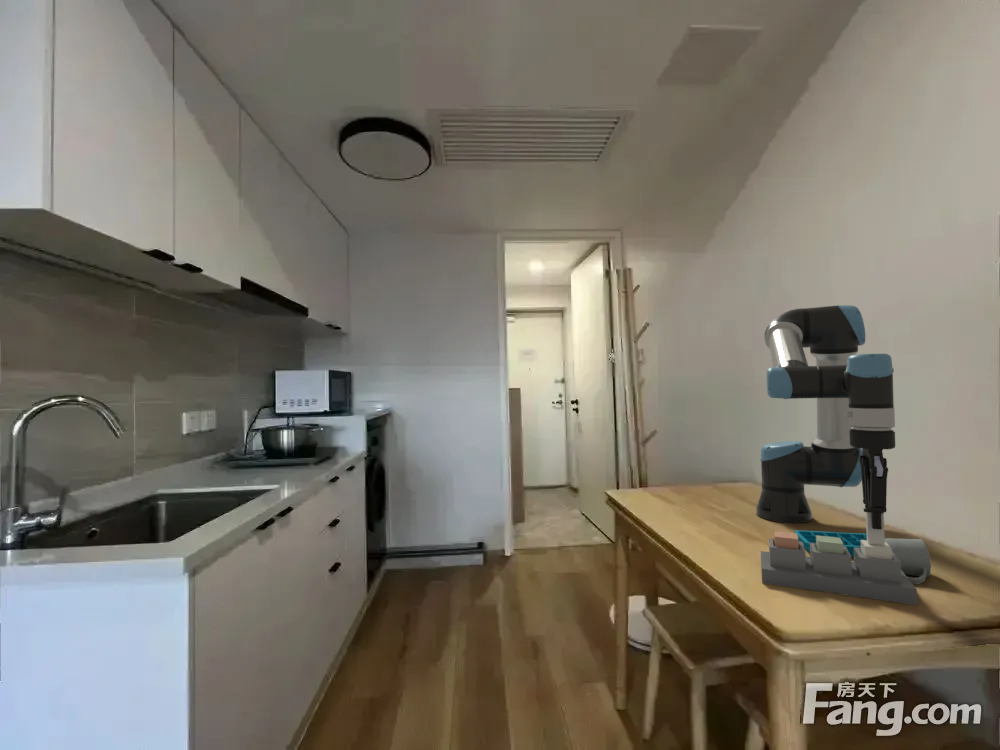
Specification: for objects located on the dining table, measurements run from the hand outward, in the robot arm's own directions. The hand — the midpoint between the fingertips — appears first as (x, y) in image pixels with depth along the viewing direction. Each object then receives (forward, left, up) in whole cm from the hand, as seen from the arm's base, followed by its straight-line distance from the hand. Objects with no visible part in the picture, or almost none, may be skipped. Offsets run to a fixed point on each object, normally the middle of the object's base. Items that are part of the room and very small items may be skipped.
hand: (875, 543), depth 101 cm
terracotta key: (0, -16, -5) cm, 17 cm away
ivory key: (0, 0, -5) cm, 5 cm away
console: (0, -8, -9) cm, 12 cm away
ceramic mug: (-11, +7, -10) cm, 16 cm away
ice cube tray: (-25, -2, -10) cm, 27 cm away
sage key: (0, -8, -5) cm, 9 cm away
